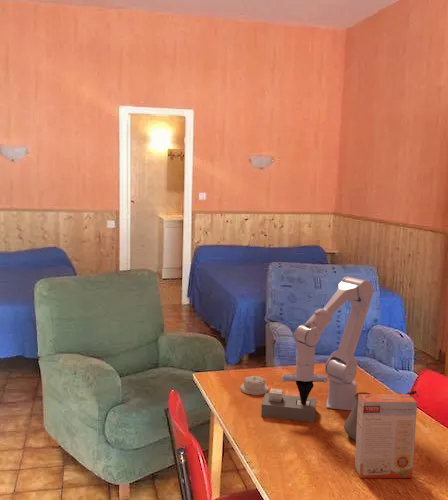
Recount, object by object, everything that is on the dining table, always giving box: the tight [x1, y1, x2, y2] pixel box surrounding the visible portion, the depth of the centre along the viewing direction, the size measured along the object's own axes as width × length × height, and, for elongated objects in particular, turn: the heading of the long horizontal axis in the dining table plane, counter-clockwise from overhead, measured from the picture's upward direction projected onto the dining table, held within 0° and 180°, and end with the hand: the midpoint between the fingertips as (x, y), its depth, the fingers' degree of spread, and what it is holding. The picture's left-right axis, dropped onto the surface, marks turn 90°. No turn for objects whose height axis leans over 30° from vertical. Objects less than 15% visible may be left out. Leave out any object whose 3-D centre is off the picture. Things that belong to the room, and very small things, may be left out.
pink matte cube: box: [297, 400, 310, 406], centre depth 185 cm, size 4×4×4 cm
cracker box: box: [354, 393, 418, 479], centre depth 149 cm, size 14×6×21 cm, turn 92°
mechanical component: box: [239, 375, 269, 396], centre depth 206 cm, size 10×4×10 cm
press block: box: [260, 392, 317, 423], centre depth 186 cm, size 17×10×4 cm, turn 79°
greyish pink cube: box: [268, 388, 284, 403], centre depth 187 cm, size 4×4×4 cm
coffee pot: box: [343, 390, 419, 442], centre depth 170 cm, size 21×12×15 cm, turn 89°
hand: (303, 402), depth 185 cm, fingers closed, pressing on pink matte cube
